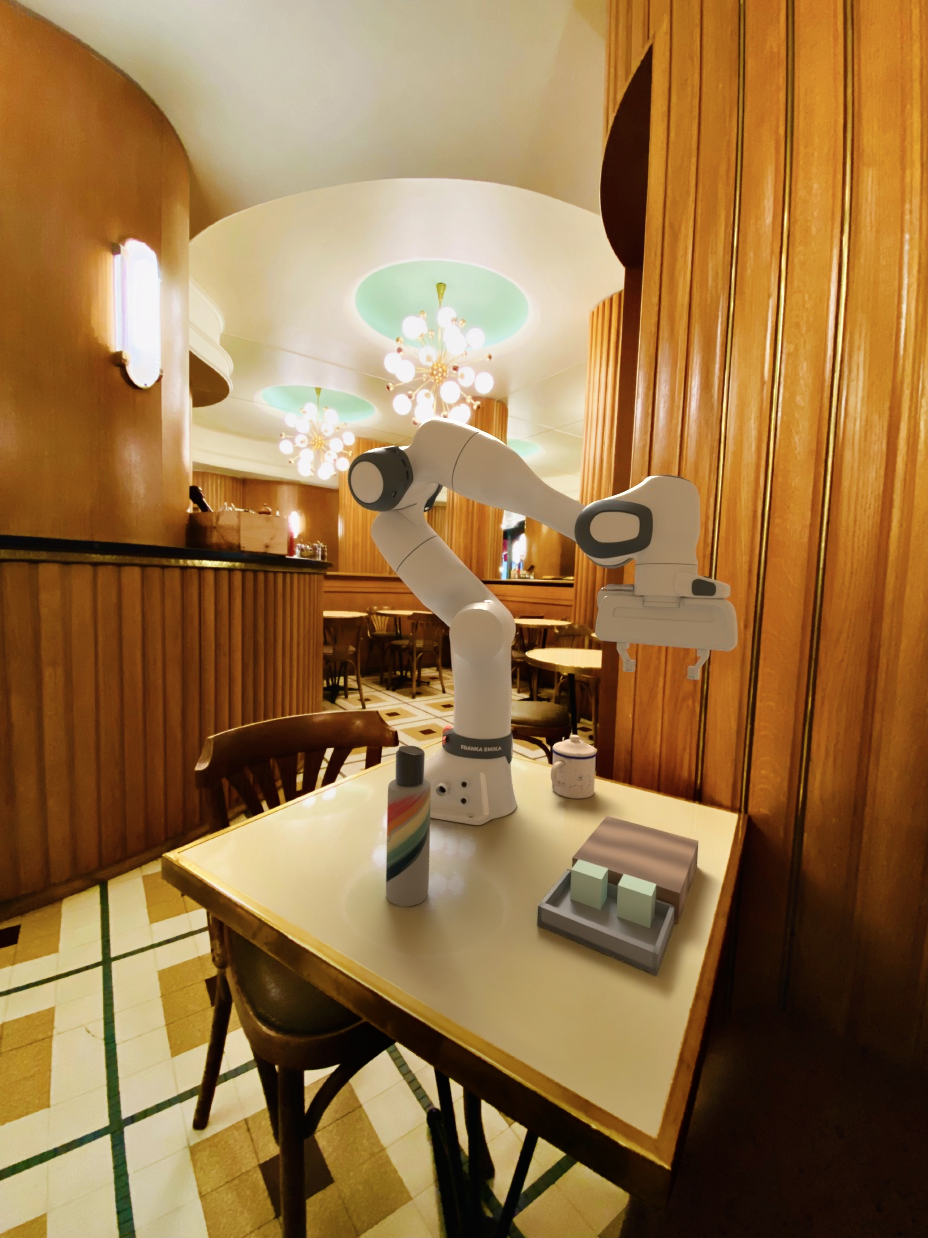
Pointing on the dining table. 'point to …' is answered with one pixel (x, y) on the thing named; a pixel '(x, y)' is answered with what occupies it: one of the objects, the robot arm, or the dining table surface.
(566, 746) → the teacup with lid
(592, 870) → the mint block
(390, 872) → the lotion bottle
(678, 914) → the walnut bench
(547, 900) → the charcoal tray
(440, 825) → the dining table surface
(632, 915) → the mint block
